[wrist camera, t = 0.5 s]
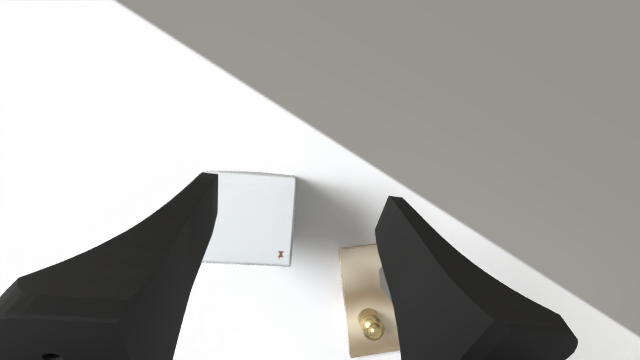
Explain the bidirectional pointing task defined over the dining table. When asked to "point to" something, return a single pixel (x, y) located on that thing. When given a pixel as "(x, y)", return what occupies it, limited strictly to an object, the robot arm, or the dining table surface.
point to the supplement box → (253, 219)
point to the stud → (371, 324)
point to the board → (366, 300)
